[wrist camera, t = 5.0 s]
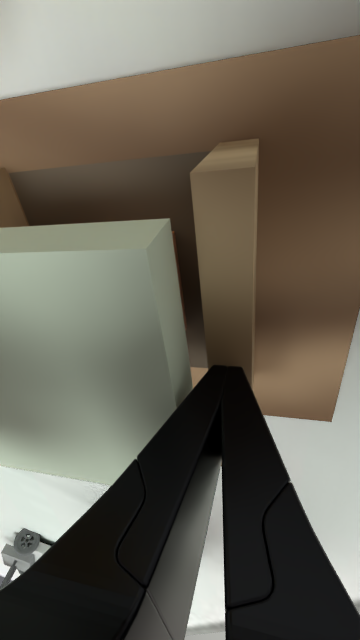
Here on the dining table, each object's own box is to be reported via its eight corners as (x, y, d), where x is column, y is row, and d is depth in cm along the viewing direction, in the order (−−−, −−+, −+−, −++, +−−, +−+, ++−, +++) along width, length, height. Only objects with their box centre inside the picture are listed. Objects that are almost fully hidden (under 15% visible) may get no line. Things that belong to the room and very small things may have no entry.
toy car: (-40, 628, 40) (-57, 615, 33) (9, 542, 48) (4, 516, 41) (89, 678, 40) (100, 675, 33) (118, 583, 48) (131, 564, 41)
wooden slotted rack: (329, 412, 16) (353, 527, 12) (-77, 374, 23) (-156, 438, 19) (420, 26, 8) (616, -63, 3) (-260, 148, 15) (-481, 169, 10)
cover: (202, 453, 11) (194, 499, 10) (-34, 421, 14) (-64, 454, 12) (169, 218, 6) (145, 248, 5) (-181, 238, 9) (-254, 261, 8)
